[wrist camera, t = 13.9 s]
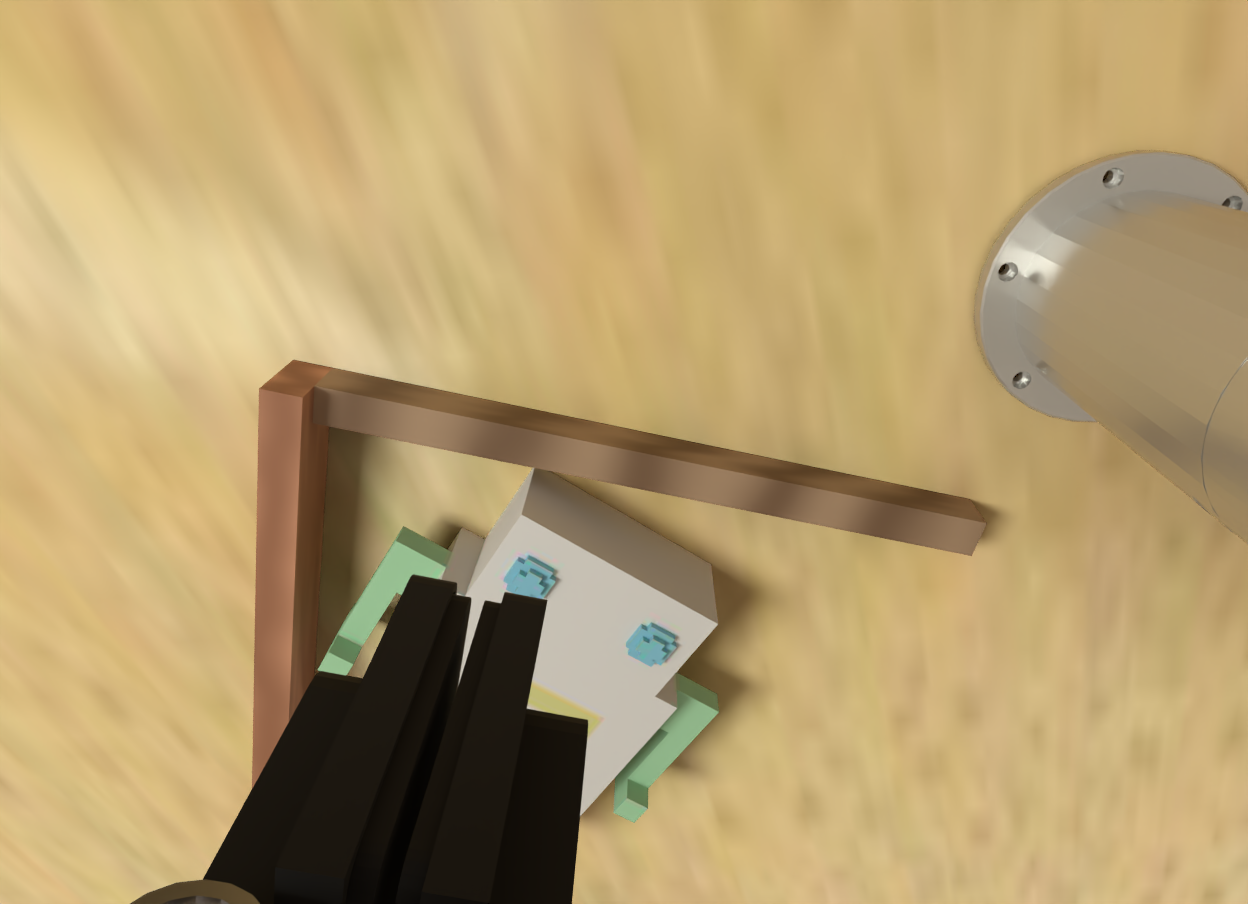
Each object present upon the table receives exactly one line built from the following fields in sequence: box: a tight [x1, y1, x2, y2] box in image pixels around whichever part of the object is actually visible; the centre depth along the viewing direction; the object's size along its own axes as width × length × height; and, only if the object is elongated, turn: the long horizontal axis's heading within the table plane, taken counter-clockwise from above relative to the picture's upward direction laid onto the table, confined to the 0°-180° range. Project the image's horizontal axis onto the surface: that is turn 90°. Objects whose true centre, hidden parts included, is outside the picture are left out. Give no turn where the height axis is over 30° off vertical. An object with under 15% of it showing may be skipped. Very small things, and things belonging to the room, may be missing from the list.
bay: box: [252, 360, 987, 789], centre depth 49 cm, size 38×46×8 cm
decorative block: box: [318, 468, 719, 823], centre depth 47 cm, size 26×6×20 cm
